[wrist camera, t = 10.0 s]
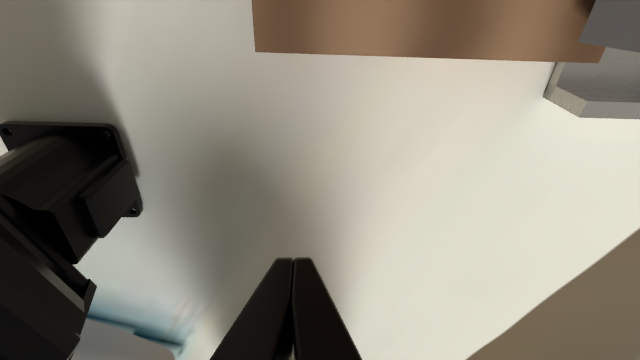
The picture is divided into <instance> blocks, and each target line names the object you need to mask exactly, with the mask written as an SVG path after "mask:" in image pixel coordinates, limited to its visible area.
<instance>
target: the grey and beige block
mask: <svg viewBox="0 0 640 360" xmlns="http://www.w3.org/2000/svg"><path fill="white" fill-rule="evenodd" d="M578 42H580V43H586V44H591V45H597V46H603V47H609V48H615V49H621V50H626V51H632V52H638V53H640V0H596V1H595V4H594V6H593V8H592V11H591V13H590V15H589V18H588V20H587V23H586V25H585V27H584V30H583V32H582V34H581V37H580V39H579V41H578Z"/></svg>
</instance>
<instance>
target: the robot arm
mask: <svg viewBox="0 0 640 360" xmlns="http://www.w3.org/2000/svg"><path fill="white" fill-rule="evenodd" d="M8 129H9V130H11V132H10V131H9V130H8ZM105 131H107V132H109V133H110V135H111V136H109V135H107V134H106V132H105ZM0 136H1V138H2V140H3V142H4V144H5V145H6V147H7V149H8V151H9V152H7V153H5V154H3V155H2V156H0V360H71V357H72V356H73V353H74V351H75V350H76V348H77V346H78V344H79V341H80V334H81V331H82V328H83V325H84V323H85V320H86V317H87V314H88V311H89V308H90V305H91V302H92V299H93V296H94V293H95V290H96V288H97V286H96V285H95V284H94V283H93V282H92V281H91V280H90V279H86V278H85V277H84V276H83V275H82V274H81V273H80V272H79V271H78V270H77V269H76V268H75V267H74V266H73V265H72V264H77V263H78V262H79V261H80V260H81V259H82V257H83V256H84V255H85V254H86V253H87V251H88V250H89V249H90V248H91V246H92V245H93V244H94V243H95V242H96V240H97V239H98V238H104V237H106V235H107V234H108V233H109V232H110V231H111V230H112V228H113V227H114V226H115V224H116V223H117V222H118V221H119V219H120V218H121V217H138V216H139V215H140V214H141V212H142V211H143V207H142V204H141V201H140V198H139V190H138V187H137V184H136V181H135V178H134V175H133V172H132V168H131V165H130V162H129V161H128V160H127V157H126V154H125V151H124V148H123V145H122V142H121V139H120V136H119V133H118V131H117V129H116V128H115V127H114V126H112V125H110V124H92V123H56V122H20V121H7V122H4V123H2V124H0ZM132 208H133V209H135V210H136V211H135V210H133V209H132ZM293 350H294V358H295V360H362V358H361V356H360V354H359V352H358V350H357V348H356V346H355V344H354V342H353V340H352V338H351V336H350V334H349V332H348V330H347V328H346V326H345V324H344V322H343V320H342V318H341V316H340V314H339V312H338V310H337V308H336V306H335V304H334V302H333V300H332V298H331V296H330V294H329V292H328V290H327V288H326V286H325V284H324V282H323V280H322V278H321V276H320V274H319V272H318V270H317V268H316V266H315V264H314V262H313V260H312V259H311V258H310V257H298V258H295V259H294V260H293V258H277V259H276V260H275V261H274V263H273V264H272V266H271V267H270V269H269V270H268V272H267V273H266V275H265V276H264V278H263V279H262V281H261V282H260V284H259V285H258V287H257V288H256V290H255V291H254V293H253V294H252V296H251V298H250V299H249V301H248V302H247V304H246V305H245V307H244V308H243V310H242V311H241V313H240V314H239V316H238V317H237V319H236V320H235V322H234V323H233V325H232V326H231V328H230V329H229V331H228V333H227V334H226V336H225V337H224V339H223V340H222V342H221V343H220V345H219V346H218V348H217V349H216V351H215V352H214V354H213V355H212V357H211V358H210V360H293Z"/></svg>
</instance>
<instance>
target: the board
mask: <svg viewBox="0 0 640 360" xmlns="http://www.w3.org/2000/svg"><path fill="white" fill-rule="evenodd" d="M595 1H596V0H252V10H253V25H254V39H255V52H270V53H300V54H331V55H361V56H391V57H422V58H452V59H482V60H512V61H543V62H573V63H599V61H600V59H601V57H602V55H603V53H604V51H605V48H606V47H603V46H597V45H591V44H586V43H580V42H578V41H579V39H580V37H581V34H582V32H583V30H584V27H585V25H586V23H587V20H588V18H589V15H590V13H591V11H592V8H593V6H594V4H595Z"/></svg>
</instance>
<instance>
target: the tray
mask: <svg viewBox="0 0 640 360" xmlns="http://www.w3.org/2000/svg"><path fill="white" fill-rule="evenodd" d="M543 97H544V98H545V99H547V100H549V101H551V102H553V103H554V104H556V105H558V106H560V107H561V108H563V109H565V110H567V111H569V112H570V113H572V114H574V115H576V116H578V117H583V118H617V119H640V53H638V52H632V51H626V50H621V49H615V48H609V47H606V48H605V51H604V53H603V55H602V57H601V59H600V61H599V63H573V62H557V64H556V66H555V69H554V71H553V74H552V76H551V79H550V81H549V83H548V86H547V88H546V91H545V93H544V96H543Z"/></svg>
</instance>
